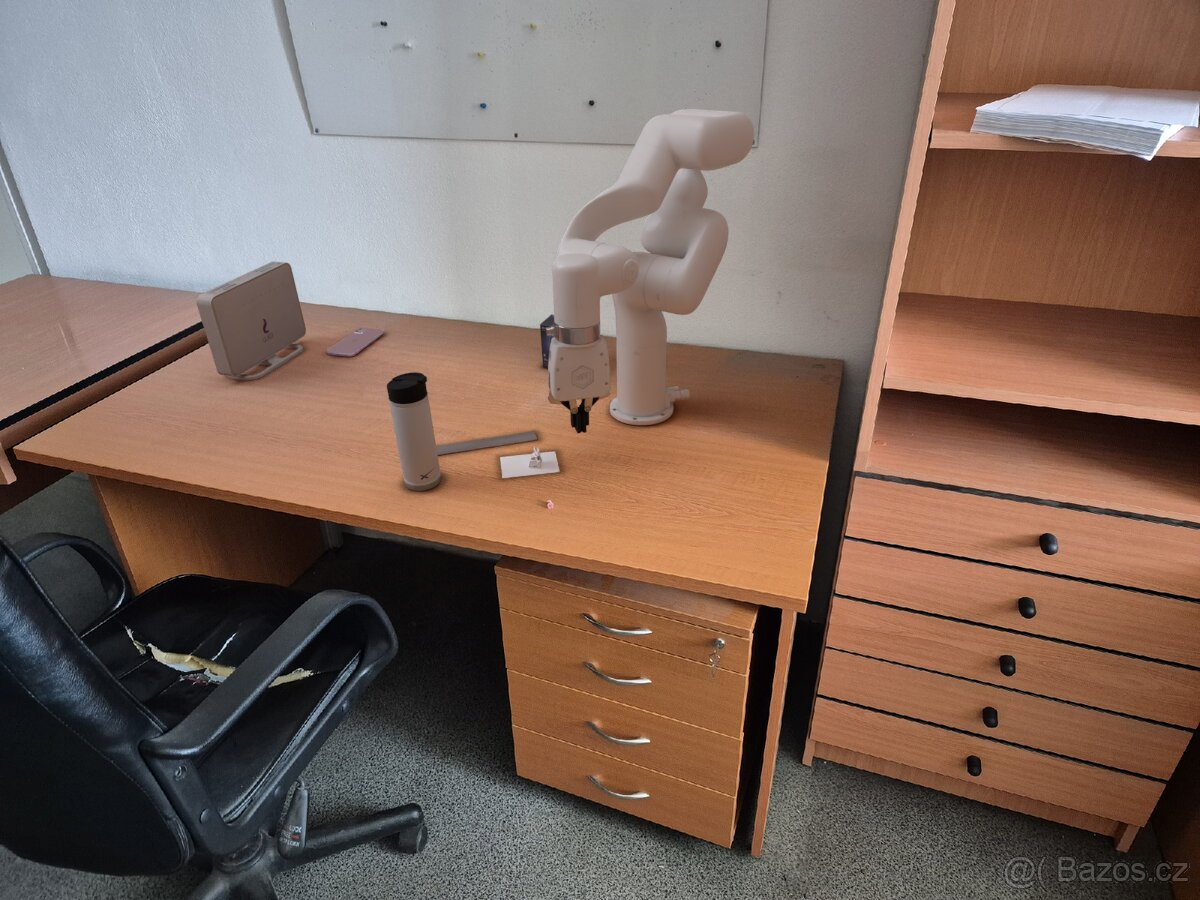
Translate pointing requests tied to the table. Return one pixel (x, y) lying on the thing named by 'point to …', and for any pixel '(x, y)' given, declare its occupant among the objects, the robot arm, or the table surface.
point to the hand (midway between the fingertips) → (580, 429)
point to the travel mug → (414, 431)
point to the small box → (546, 339)
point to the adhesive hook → (529, 464)
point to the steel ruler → (486, 443)
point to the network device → (253, 320)
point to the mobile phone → (355, 342)
